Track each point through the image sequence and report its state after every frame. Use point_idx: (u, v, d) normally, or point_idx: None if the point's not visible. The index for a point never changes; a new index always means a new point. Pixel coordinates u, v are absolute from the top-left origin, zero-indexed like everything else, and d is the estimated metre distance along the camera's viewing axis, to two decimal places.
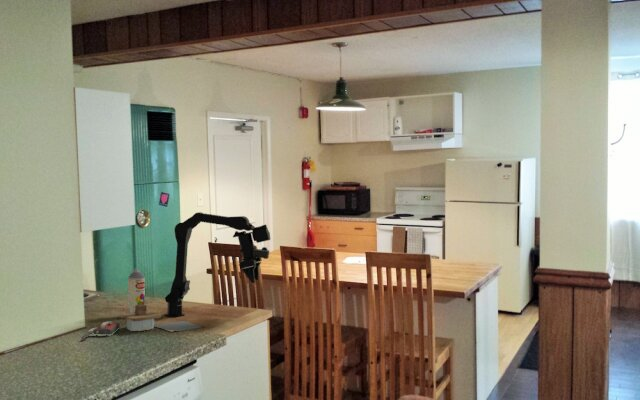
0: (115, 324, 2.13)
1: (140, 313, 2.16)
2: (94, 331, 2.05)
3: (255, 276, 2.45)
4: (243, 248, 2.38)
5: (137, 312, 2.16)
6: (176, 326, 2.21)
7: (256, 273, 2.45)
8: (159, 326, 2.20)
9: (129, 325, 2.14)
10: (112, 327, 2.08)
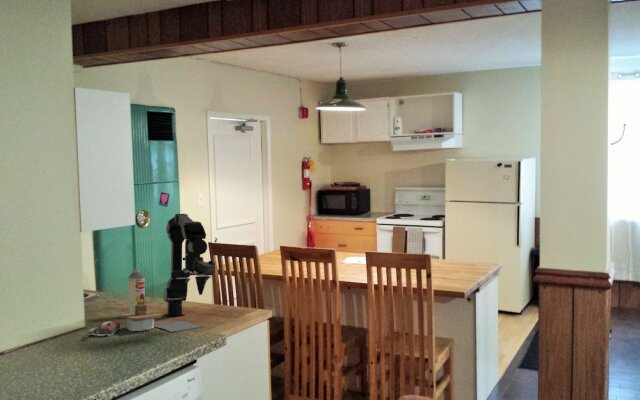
0: (116, 324, 2.13)
1: (140, 313, 2.16)
2: (94, 331, 2.05)
3: (199, 290, 2.21)
4: (185, 257, 2.16)
5: (137, 312, 2.16)
6: (176, 326, 2.21)
7: (201, 287, 2.21)
8: (159, 326, 2.20)
9: (129, 325, 2.14)
10: (112, 327, 2.09)
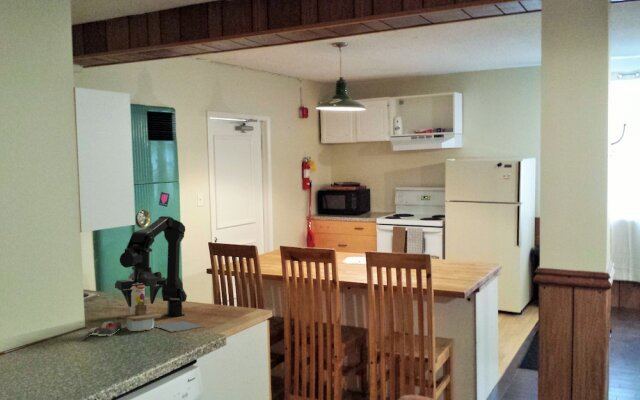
0: (117, 324, 2.13)
1: (140, 313, 2.16)
2: (95, 331, 2.05)
3: (151, 299, 2.21)
4: None
5: (137, 312, 2.16)
6: (176, 326, 2.21)
7: (152, 296, 2.21)
8: (159, 326, 2.20)
9: (129, 325, 2.14)
10: (113, 327, 2.09)
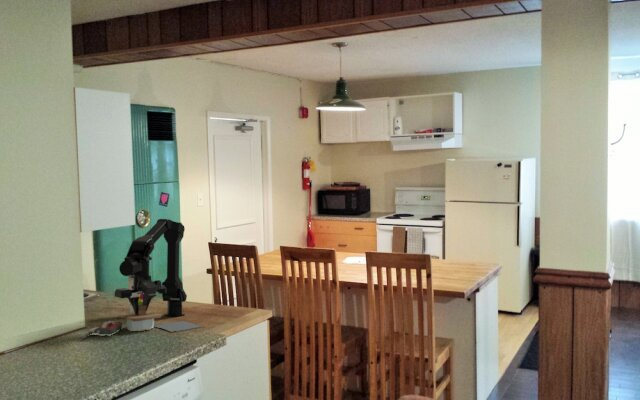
0: (117, 324, 2.13)
1: (140, 313, 2.16)
2: (95, 331, 2.05)
3: None
4: (133, 275, 2.16)
5: None
6: (176, 326, 2.21)
7: None
8: (159, 326, 2.20)
9: (129, 325, 2.14)
10: (113, 327, 2.09)
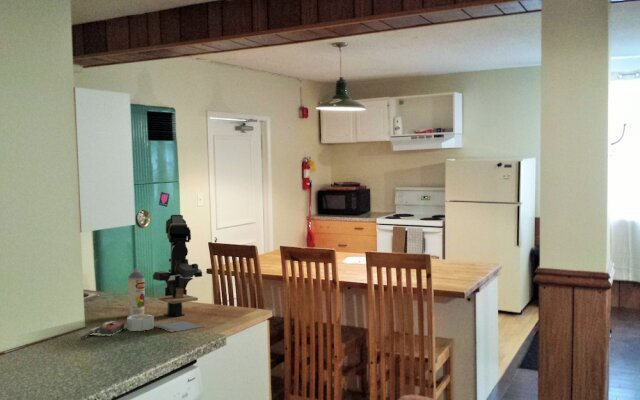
0: (119, 324, 2.13)
1: (177, 296, 2.19)
2: (96, 330, 2.06)
3: None
4: None
5: None
6: (176, 326, 2.21)
7: None
8: (159, 326, 2.20)
9: (129, 325, 2.14)
10: (114, 327, 2.09)
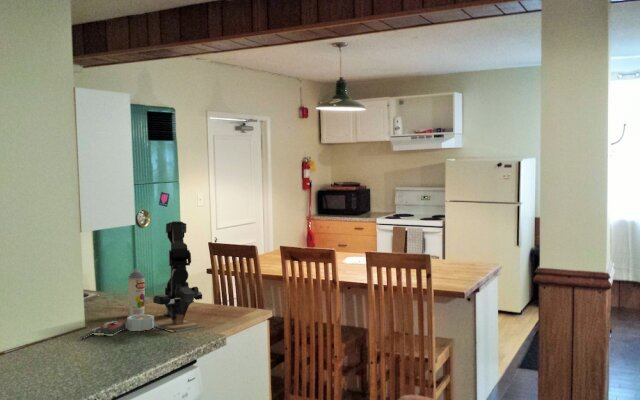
0: (120, 324, 2.13)
1: (178, 322, 2.19)
2: (96, 330, 2.06)
3: None
4: (171, 281, 2.20)
5: (175, 321, 2.20)
6: None
7: (183, 311, 2.23)
8: (159, 326, 2.20)
9: (129, 325, 2.14)
10: (115, 327, 2.09)
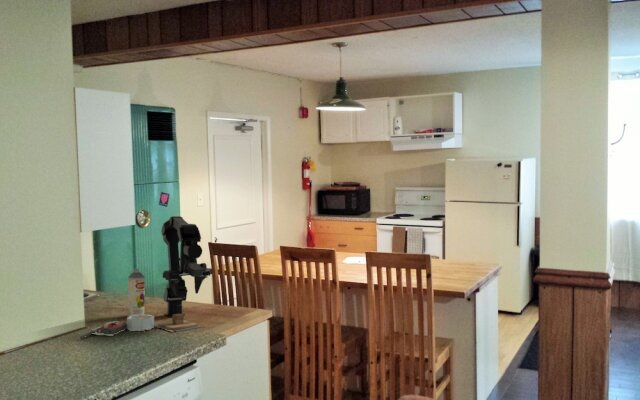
0: (121, 324, 2.13)
1: (178, 322, 2.19)
2: (97, 330, 2.06)
3: (195, 289, 2.30)
4: (180, 257, 2.26)
5: (175, 321, 2.20)
6: None
7: (197, 286, 2.30)
8: (159, 326, 2.20)
9: (129, 325, 2.14)
10: (115, 327, 2.08)
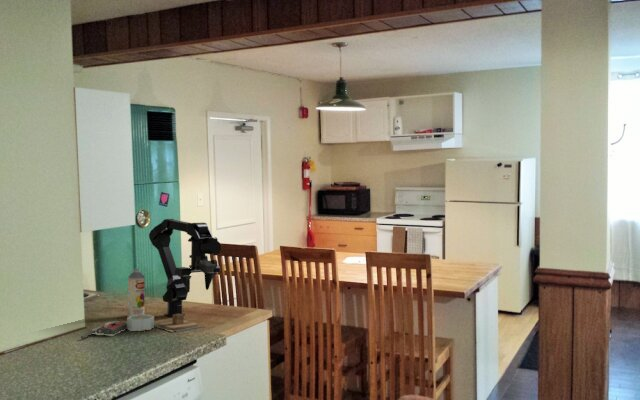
0: (121, 324, 2.13)
1: (178, 322, 2.19)
2: (97, 330, 2.06)
3: (206, 285, 2.38)
4: (191, 255, 2.34)
5: (175, 321, 2.20)
6: None
7: (207, 283, 2.38)
8: (159, 326, 2.20)
9: (129, 325, 2.14)
10: (116, 327, 2.09)
